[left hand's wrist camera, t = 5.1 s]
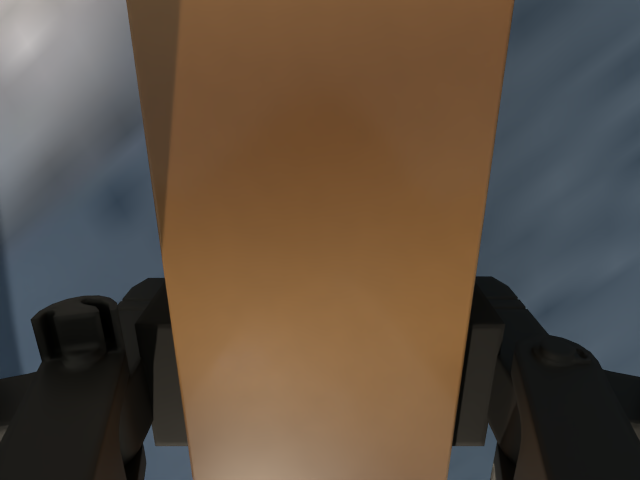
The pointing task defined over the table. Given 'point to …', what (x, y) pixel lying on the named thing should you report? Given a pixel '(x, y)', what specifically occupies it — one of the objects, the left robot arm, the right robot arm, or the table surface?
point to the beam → (320, 223)
